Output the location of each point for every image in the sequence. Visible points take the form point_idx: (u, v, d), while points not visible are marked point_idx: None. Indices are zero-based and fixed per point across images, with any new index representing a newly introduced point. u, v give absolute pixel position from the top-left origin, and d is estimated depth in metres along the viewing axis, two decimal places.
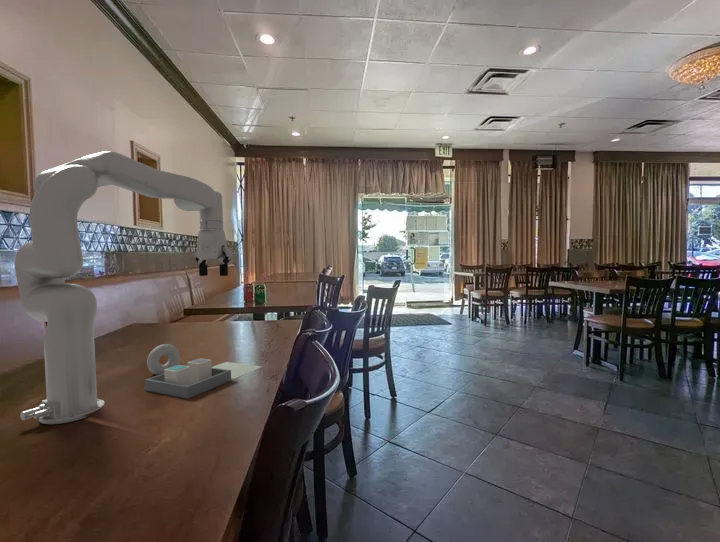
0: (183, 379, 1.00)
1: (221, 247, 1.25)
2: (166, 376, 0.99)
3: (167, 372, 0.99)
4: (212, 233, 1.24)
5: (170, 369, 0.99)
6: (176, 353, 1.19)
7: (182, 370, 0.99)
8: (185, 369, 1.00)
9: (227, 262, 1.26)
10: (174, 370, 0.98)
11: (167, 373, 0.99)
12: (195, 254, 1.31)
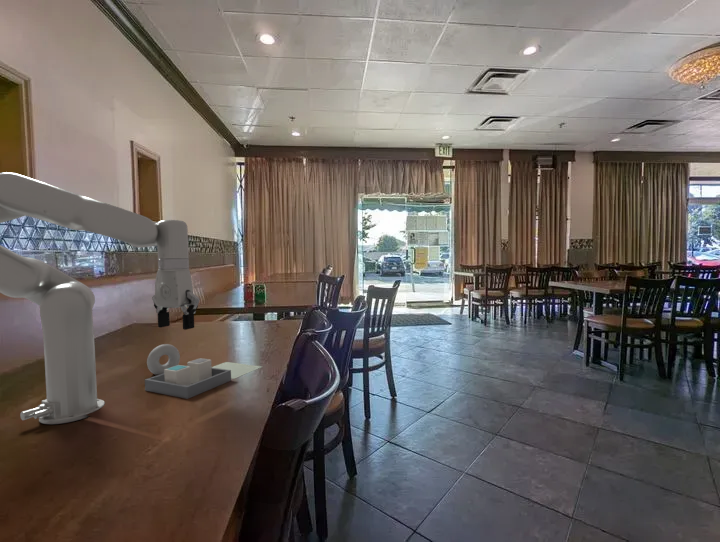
0: (183, 379, 1.00)
1: (185, 292, 0.97)
2: (166, 376, 0.99)
3: (167, 372, 0.99)
4: (173, 275, 0.96)
5: (170, 369, 0.99)
6: (176, 353, 1.19)
7: (182, 370, 0.99)
8: (185, 369, 1.00)
9: (193, 311, 0.98)
10: (174, 370, 0.98)
11: (167, 373, 0.99)
12: (154, 299, 1.03)
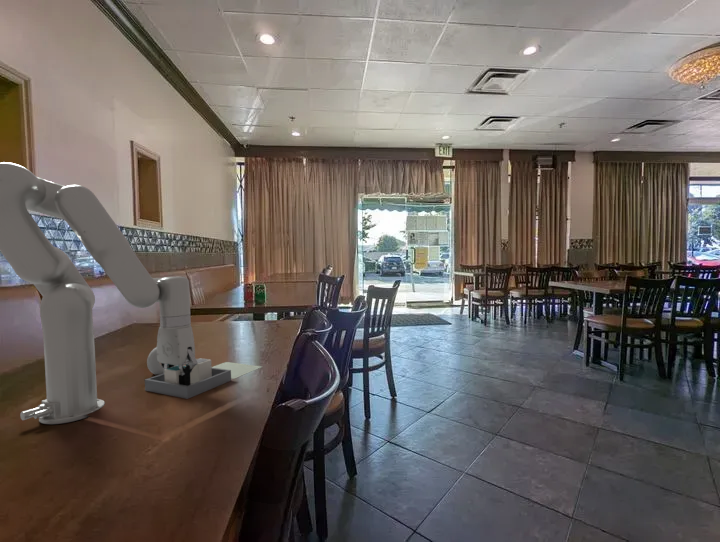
0: None
1: (186, 350, 0.98)
2: (166, 376, 0.99)
3: (167, 372, 0.99)
4: (175, 333, 0.97)
5: (170, 369, 0.99)
6: None
7: None
8: None
9: (189, 371, 0.99)
10: (174, 370, 0.98)
11: (167, 373, 0.99)
12: None
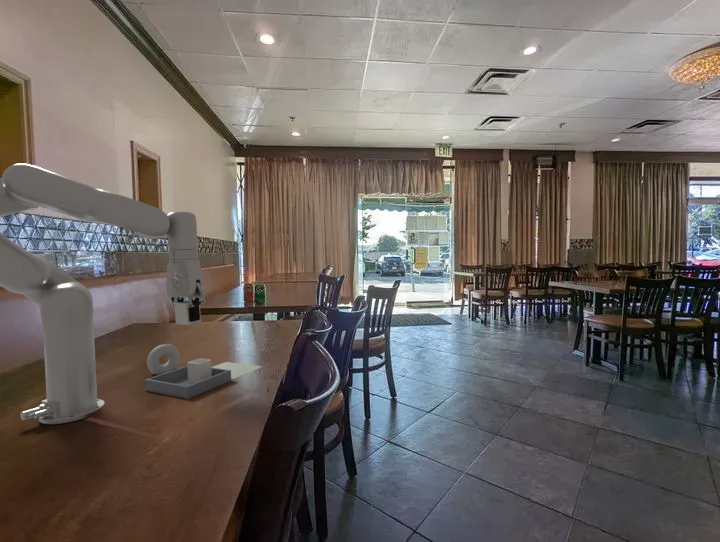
0: None
1: (195, 282, 1.00)
2: (176, 309, 1.02)
3: (177, 305, 1.02)
4: (184, 265, 0.99)
5: (180, 302, 1.02)
6: (176, 353, 1.19)
7: None
8: None
9: (198, 304, 1.02)
10: (184, 303, 1.01)
11: (177, 306, 1.02)
12: None
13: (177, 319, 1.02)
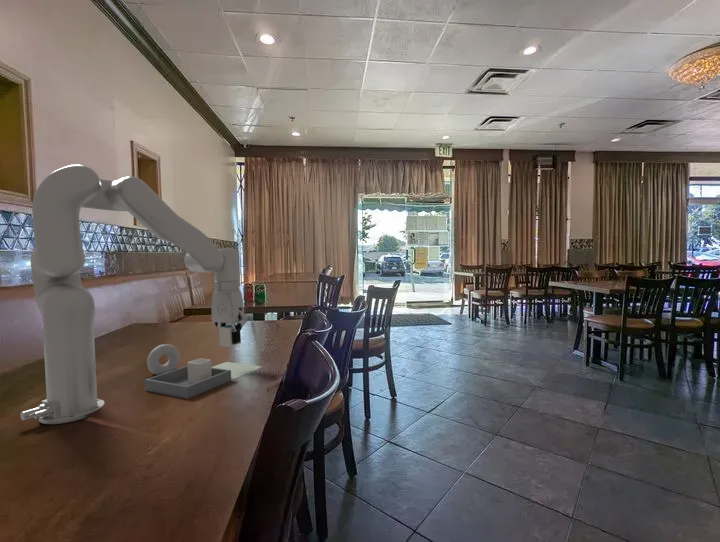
0: None
1: (238, 310, 1.15)
2: (220, 333, 1.17)
3: (221, 329, 1.17)
4: (228, 295, 1.14)
5: (224, 327, 1.17)
6: (176, 353, 1.19)
7: None
8: None
9: (240, 329, 1.17)
10: (227, 327, 1.16)
11: (221, 330, 1.17)
12: (213, 320, 1.20)
13: (221, 341, 1.17)
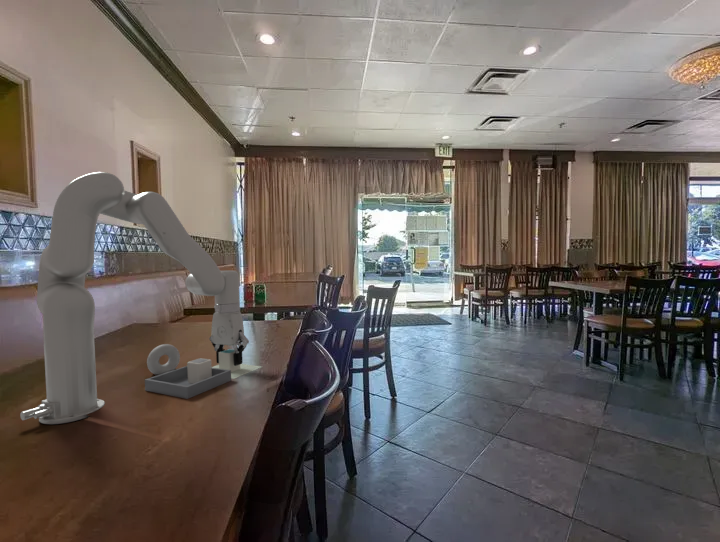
0: None
1: (238, 332, 1.15)
2: (220, 358, 1.17)
3: (221, 355, 1.17)
4: (229, 318, 1.14)
5: (223, 352, 1.17)
6: (176, 353, 1.19)
7: None
8: None
9: (242, 350, 1.16)
10: (227, 353, 1.16)
11: (221, 355, 1.17)
12: (211, 339, 1.20)
13: (220, 366, 1.17)
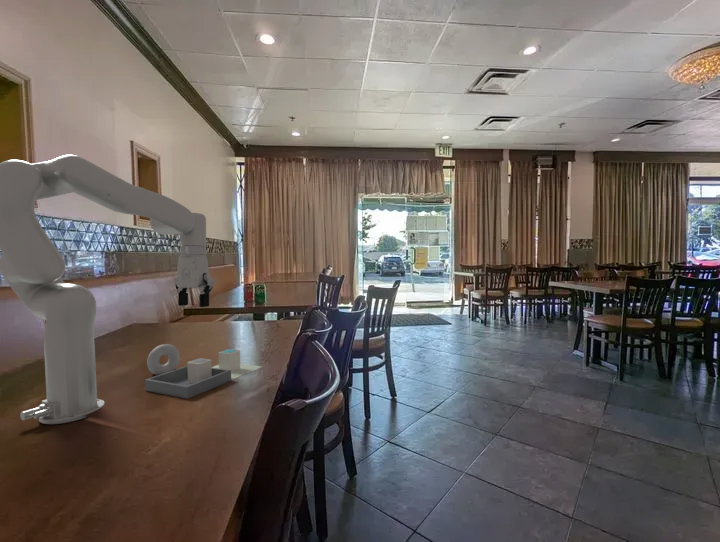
0: (234, 361, 1.17)
1: (202, 275, 1.13)
2: (220, 358, 1.17)
3: (221, 355, 1.17)
4: (193, 259, 1.12)
5: (223, 352, 1.17)
6: (176, 353, 1.19)
7: (234, 353, 1.17)
8: (236, 352, 1.18)
9: (208, 292, 1.13)
10: (227, 353, 1.16)
11: (221, 355, 1.17)
12: (175, 281, 1.19)
13: (220, 366, 1.17)
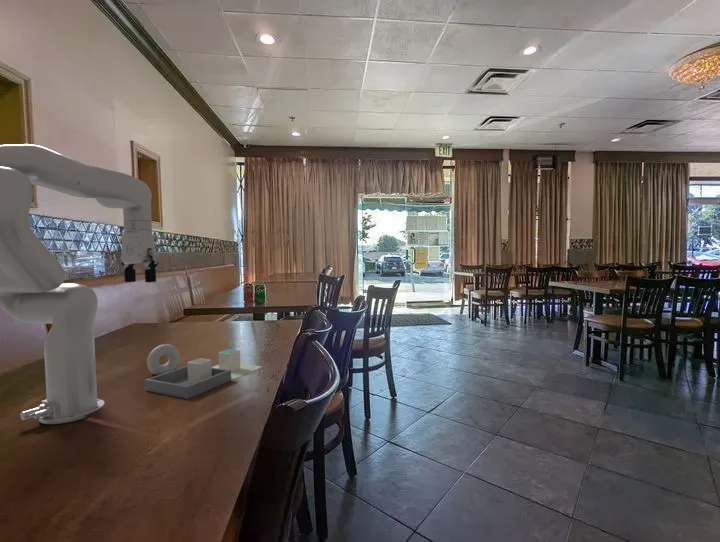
0: (234, 361, 1.17)
1: (147, 250, 1.11)
2: (220, 358, 1.17)
3: (221, 355, 1.17)
4: (136, 234, 1.10)
5: (223, 352, 1.17)
6: (176, 353, 1.19)
7: (234, 353, 1.17)
8: (236, 352, 1.18)
9: (154, 267, 1.12)
10: (227, 353, 1.16)
11: (221, 355, 1.17)
12: (121, 258, 1.17)
13: (220, 366, 1.17)
